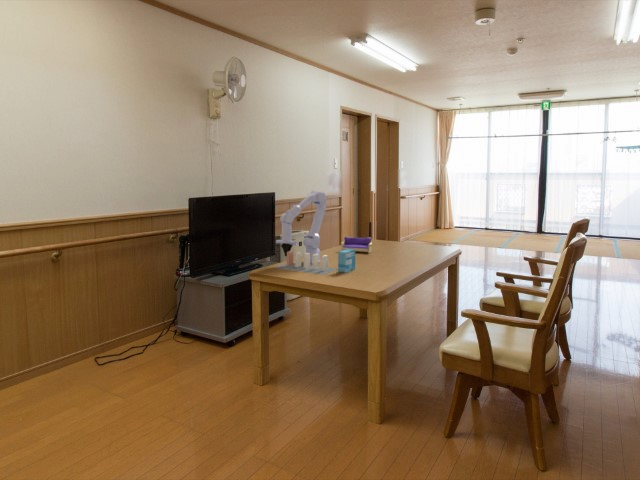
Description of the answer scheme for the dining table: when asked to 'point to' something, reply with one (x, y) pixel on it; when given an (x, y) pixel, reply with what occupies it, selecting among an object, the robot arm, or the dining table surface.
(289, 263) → the tile
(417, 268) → the dining table surface
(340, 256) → the data package
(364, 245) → the toy sofa
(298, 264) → the beige rectangular block
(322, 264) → the tile
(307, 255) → the tile
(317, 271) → the mat
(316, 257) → the tile
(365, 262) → the dining table surface
